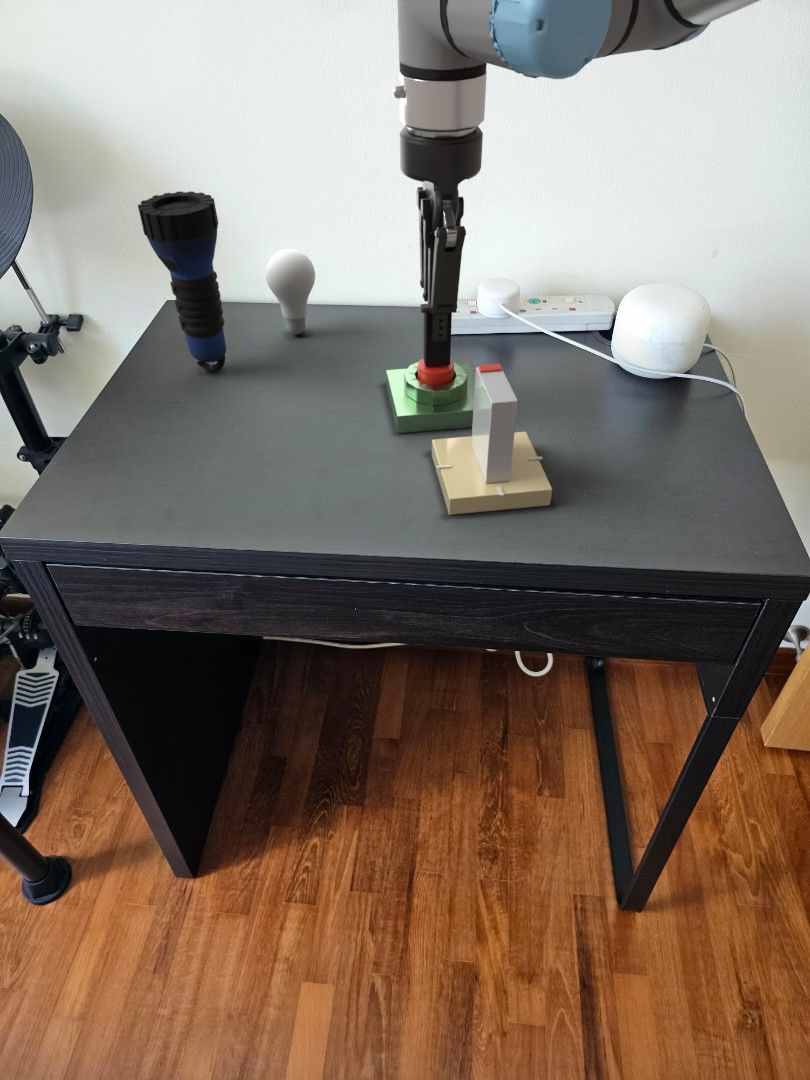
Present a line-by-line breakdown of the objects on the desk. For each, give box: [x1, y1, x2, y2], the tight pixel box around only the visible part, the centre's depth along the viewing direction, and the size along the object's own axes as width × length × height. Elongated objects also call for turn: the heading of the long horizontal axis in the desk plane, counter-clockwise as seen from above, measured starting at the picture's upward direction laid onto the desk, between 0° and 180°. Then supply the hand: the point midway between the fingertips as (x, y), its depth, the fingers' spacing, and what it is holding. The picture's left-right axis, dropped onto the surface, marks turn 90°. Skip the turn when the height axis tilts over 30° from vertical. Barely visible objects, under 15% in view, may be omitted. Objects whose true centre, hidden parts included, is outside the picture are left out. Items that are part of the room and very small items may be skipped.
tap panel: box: [431, 431, 553, 516], centre depth 79 cm, size 11×11×2 cm
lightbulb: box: [265, 248, 316, 336], centre depth 100 cm, size 6×6×11 cm
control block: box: [385, 361, 475, 434], centre depth 89 cm, size 10×10×4 cm
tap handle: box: [471, 363, 519, 483], centre depth 75 cm, size 6×2×9 cm, turn 9°
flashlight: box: [137, 190, 227, 372], centre depth 90 cm, size 8×8×20 cm
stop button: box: [417, 357, 454, 386], centre depth 87 cm, size 4×4×2 cm
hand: (436, 362), depth 86 cm, fingers closed
